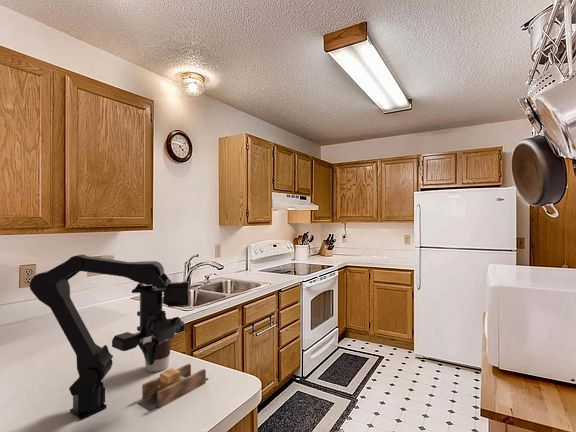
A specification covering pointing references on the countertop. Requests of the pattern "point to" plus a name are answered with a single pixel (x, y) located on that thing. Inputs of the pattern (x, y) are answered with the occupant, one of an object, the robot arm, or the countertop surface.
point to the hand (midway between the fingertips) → (150, 364)
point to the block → (169, 377)
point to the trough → (171, 388)
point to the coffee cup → (160, 358)
